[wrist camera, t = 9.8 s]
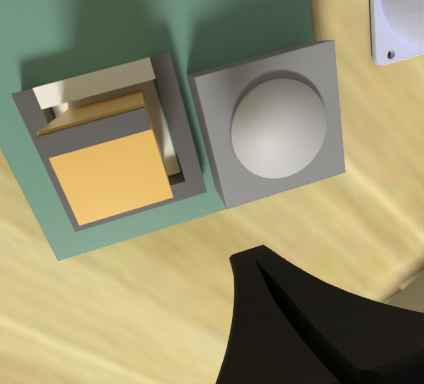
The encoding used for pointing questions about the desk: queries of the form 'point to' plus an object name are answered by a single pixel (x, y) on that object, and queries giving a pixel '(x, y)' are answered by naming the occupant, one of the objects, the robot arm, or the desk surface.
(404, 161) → the desk surface
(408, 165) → the desk surface
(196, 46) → the board
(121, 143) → the plug
